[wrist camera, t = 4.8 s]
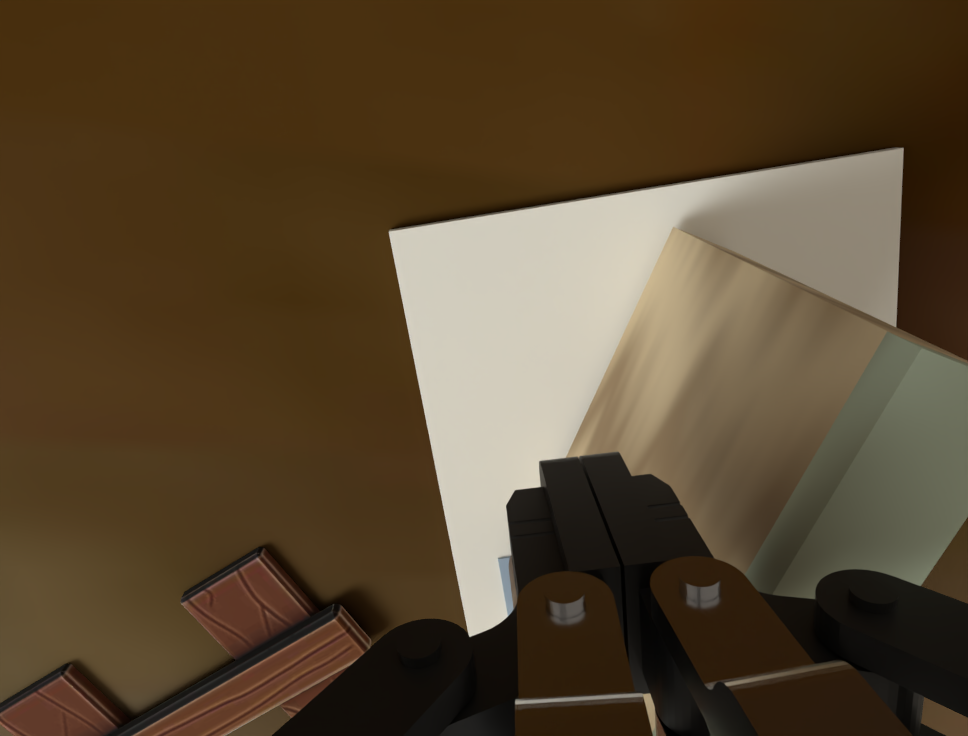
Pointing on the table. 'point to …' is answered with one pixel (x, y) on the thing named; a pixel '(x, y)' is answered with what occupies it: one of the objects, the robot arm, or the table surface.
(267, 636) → the decorative fence
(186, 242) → the table surface
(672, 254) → the gate panel
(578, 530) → the robot arm
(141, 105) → the table surface
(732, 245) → the card
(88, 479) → the table surface
